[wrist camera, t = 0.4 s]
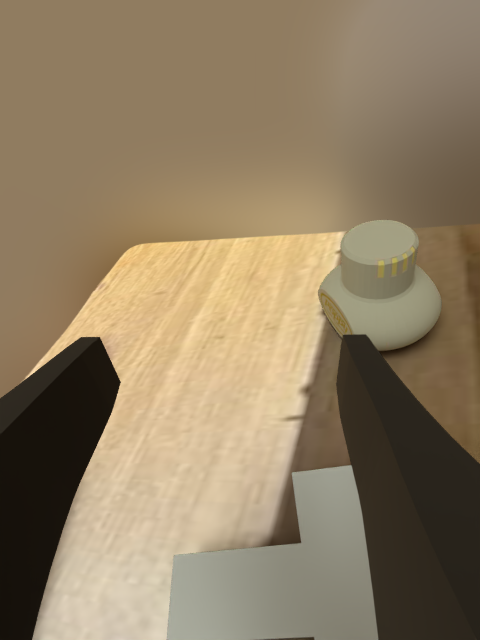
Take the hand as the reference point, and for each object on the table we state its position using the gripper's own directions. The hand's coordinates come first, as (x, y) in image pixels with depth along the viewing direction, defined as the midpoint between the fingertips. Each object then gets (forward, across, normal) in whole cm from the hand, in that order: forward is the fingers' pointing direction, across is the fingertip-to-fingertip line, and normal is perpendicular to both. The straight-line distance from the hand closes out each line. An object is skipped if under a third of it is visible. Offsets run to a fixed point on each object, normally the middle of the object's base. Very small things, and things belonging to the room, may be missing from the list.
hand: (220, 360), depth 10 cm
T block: (-1, -2, +20) cm, 20 cm away
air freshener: (+21, -11, +15) cm, 28 cm away
